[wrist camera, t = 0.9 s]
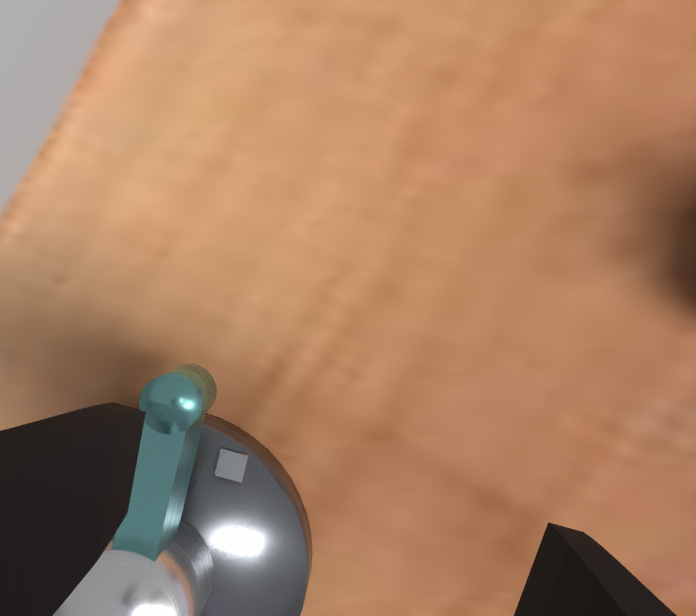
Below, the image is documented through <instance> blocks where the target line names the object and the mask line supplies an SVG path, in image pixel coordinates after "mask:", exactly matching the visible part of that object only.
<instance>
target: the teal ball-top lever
mask: <svg viewBox="0 0 696 616" xmlns="http://www.w3.org/2000/svg"><path fill="white" fill-rule="evenodd" d="M215 398H216V385H215V382H214V379H213V377H212V376H211V374H210V373H209V372H208V371H207V370H205V369H204V368H202V367H200V366H198V365H195V364H183V365H180V366H178V367H176V368H174V369H172V370H170V371H168V372H166V373H164V374H163V375H161V376H159V377H157V378H155V379H153V380H152V381H150V382H149V383H148V384H147V385H146V386H145V387H144V389H143V390H142V392H141V395H140V399H139V409H140V410H142V411H145V412H146V414H145V419H144V425H143V431H142V436H141V442H140V447H139V453H138V458H137V464H136V470H135V475H134V481H133V486H132V492H131V497H130V503H129V509H128V513H127V515H126V517H125V518H124V520H123V522H122V523H121V525H120V526H119V528H118V530H117V531H116V533H115V535H114V536H113V538H112V539H111V541H110V543H109V544H108V546H107V547H106V549H105V550H104V552H103V553H102V555H101V556H100V558H99V559H98V561H97V562H96V563H95V565H94V566H93V567H92V568H91V570H90V571H89V572H88V573H87V575H86V576H85V577H84V578H83V580H82V581H81V582H80V583H79V584H78V586H77V587H76V588H75V589H74V590H73V592H72V593H71V594H70V595H69V597H68V598H67V599H66V600H65V601H64V603H63V604H62V605H61V606H60V607H59V609H58V610H57V611H56V612H55V613H54V615H53V616H199V615H200V613H201V611H202V609H203V607H204V605H205V604H206V602H207V600H208V598H209V595H210V593H211V590H212V586H213V580H214V569H213V562H212V558H211V555H210V552H209V549H208V548H207V546H206V544H205V542H204V541H203V539H202V538H201V536H200V535H199V534H198V533H197V532H196V531H195V530H194V529H193V528H192V527H191V526H190V525H189V524H187V523H186V522H184V521H183V520H181V515H182V511H183V506H184V502H185V498H186V494H187V490H188V486H189V481H190V477H191V473H192V469H193V465H194V461H195V456H196V452H197V448H198V444H199V440H200V436H201V431H202V427H203V423H204V419H205V415H206V412H207V411H208V410H209V409H210V408H211V407H212V405H213V403H214V401H215Z"/></svg>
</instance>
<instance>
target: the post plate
mask: <svg viewBox="0 0 696 616" xmlns="http://www.w3.org/2000/svg"><path fill="white" fill-rule="evenodd" d="M181 520H183V521H184V522H186V523H187V524H189V525H190V526H191V527H192V528H193V529H194V530H195V531H196V532H197V533H198V534H199V535H200V536H201V538H202V539H203V541H204V542H205V544H206V546H207V548H208V549H209V552H210V555H211V558H212V562H213V569H214V580H213V586H212V590H211V593H210V595H209V598H208V600H207V602H206V604H205V605H204V607H203V609H202V611H201V613H200V615H199V616H300V614H301V611H302V608H303V604H304V599H305V595H306V591H307V587H308V582H309V577H310V572H311V564H312V541H311V531H310V526H309V521H308V517H307V513H306V510H305V507H304V505H303V502H302V499H301V496H300V494H299V492H298V491H297V489H296V487H295V485H294V483H293V481H292V479H291V478H290V476H289V475H288V473H287V472H286V470H285V469H284V468H283V466H282V465H281V463H280V462H279V461H278V460H277V459H276V458H275V457H274V456H273V455H272V453H271V452H270V451H269V450H268V449H267V448H265V447H264V446H263V445H262V444H261V443H260V442H259V441H257V440H256V439H255V438H254V437H252V436H251V435H249V434H248V433H246V432H245V431H243V430H242V429H240V428H239V427H237V426H235V425H233V424H231V423H229V422H227V421H225V420H223V419H220V418H218V417H215V416H212V415H209V414H206V415H205V419H204V423H203V427H202V431H201V436H200V440H199V444H198V448H197V452H196V456H195V461H194V465H193V469H192V473H191V477H190V481H189V486H188V490H187V494H186V498H185V502H184V506H183V511H182V515H181Z"/></svg>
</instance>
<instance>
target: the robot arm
mask: <svg viewBox="0 0 696 616" xmlns="http://www.w3.org/2000/svg"><path fill="white" fill-rule="evenodd" d="M145 414H146V412H145V411H142V410H138V409H134V408H131V407H127V406H123V405H120V404H116V403H107V404H101V405H96V406H92V407H88V408H84V409H80V410H76V411H73V412H69V413H65V414H62V415H58V416H54V417H51V418H47V419H43V420H40V421H36V422H32V423H28V424H25V425H21V426H17V427H14V428H10V429H6V430H2V431H0V616H53V615H54V613H55V612H56V611H57V610H58V609H59V607H60V606H61V605H62V604H63V603H64V601H65V600H66V599H67V598H68V597H69V595H70V594H71V593H72V592H73V590H74V589H75V588H76V587H77V586H78V584H79V583H80V582H81V581H82V580H83V578H84V577H85V576H86V575H87V573H88V572H89V571H90V570H91V568H92V567H93V566H94V565H95V563H96V562H97V561H98V559H99V558H100V556H101V555H102V553H103V552H104V550H105V549H106V547H107V546H108V544H109V543H110V541H111V539H112V538H113V536H114V535H115V533H116V531H117V530H118V528H119V526H120V525H121V523H122V522H123V520H124V518H125V517H126V515H127V513H128V509H129V503H130V497H131V492H132V486H133V481H134V475H135V470H136V464H137V458H138V453H139V447H140V442H141V436H142V431H143V425H144V419H145ZM514 616H676V615H675V614H674V613H673V612H672V611H671V610H670V609H669V608H668V607H667V606H666V605H664V604H663V603H662V602H661V601H660V600H659V599H658V598H657V597H656V596H655V595H654V594H653V593H652V592H651V591H649V590H648V589H647V588H646V587H645V586H644V585H643V584H642V583H641V582H640V581H639V580H638V579H637V578H636V577H635V576H633V575H632V574H631V573H630V572H629V571H628V570H627V569H626V568H625V567H624V566H623V565H622V564H621V563H620V562H618V561H617V560H616V559H615V558H614V557H613V556H612V555H611V554H610V553H609V552H607V551H606V550H605V549H604V548H603V547H602V546H601V545H599V544H598V543H597V542H596V541H595V540H593V539H592V538H591V537H589V536H588V535H587V534H585V533H584V532H581V531H577V530H574V529H570V528H566V527H563V526H559V525H555V524H552V523H548V525H547V528H546V530H545V533H544V536H543V538H542V541H541V544H540V546H539V549H538V552H537V555H536V557H535V560H534V563H533V565H532V568H531V571H530V574H529V576H528V579H527V582H526V584H525V587H524V590H523V592H522V595H521V598H520V601H519V603H518V606H517V609H516V611H515V614H514Z"/></svg>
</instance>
